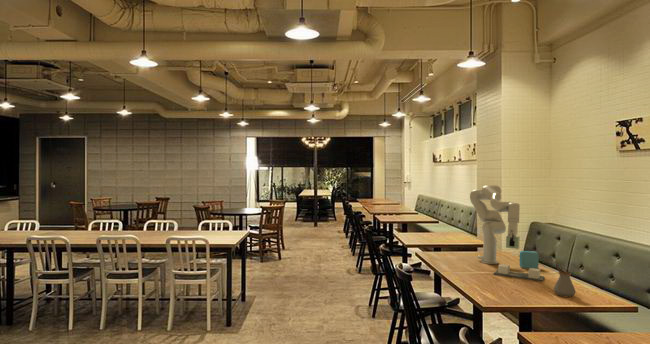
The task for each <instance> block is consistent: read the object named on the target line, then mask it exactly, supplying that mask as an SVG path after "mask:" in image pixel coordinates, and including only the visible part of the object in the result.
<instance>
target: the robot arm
mask: <svg viewBox="0 0 650 344" xmlns="http://www.w3.org/2000/svg"><path fill="white" fill-rule="evenodd" d="M501 194H502V188H501V187H500V186H499V185H497V184H496V185H494V184H492V185H491V184H490V185H487V184H486V185H484V186H482V188H481V189H479V188H478V189H473V190H472V191H470V193H469V199H470V203H471V205H472V206H473V208H474V209H475V211H476V213H477V215H478V218H479V219H480V221H481V222H482V223H483V224H482V227H481V228H482V233H483V242H482V244H483V247H482V249H483V250H482V255H477V259H479V260H480V262H481V263H483V264H488V265H497V264H498V263H499V261H498V260H497V245H498V244H497V238H496V236H495V235H502V234H504V233H505V232H506V230H507V236H510V244H509V246H513V247H514V243H515V241H514V237H515V236H516V237H517V236H518V224H519V223H520V209H521V208H520V207H521V206H520V204H519V203H517V202H513V201H501V199H502V195H501ZM483 201H490V206H491V208H492V209H488V206H487V205H486V204H485V203H484V202H483ZM500 213H507V223H508V227H507V226H506V223H505V222H504V220H503V218H502V216H501V214H500ZM506 227H507V228H506ZM498 265H499V264H498Z"/></svg>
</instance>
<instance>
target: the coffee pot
mask: <svg viewBox="0 0 650 344" xmlns="http://www.w3.org/2000/svg"><path fill="white" fill-rule="evenodd" d="M554 267H556V268H557V271H558V274H559V277H558V278H557V281H556V282H555V284H554V287H552V288H553V289H552V290H553V292H554V293H555V294H556V295H557V294H558V295H557V296H559V295H562V296H561V297H563V296H574V295H576V288H575V286H574V284H573V281H572V279H571V275H572V273H571V272H567V271H561V269H560V267H559V264H557V263H555V264H554Z"/></svg>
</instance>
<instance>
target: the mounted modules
mask: <svg viewBox="0 0 650 344" xmlns="http://www.w3.org/2000/svg"><path fill="white" fill-rule="evenodd" d="M510 268H511V265H510V264H506V263H505V264H504V263H500V264H498V267H497V269H498V273H502V274H508V273H509V272H510V271H511V269H510ZM527 274H528V277H529V278H536V279H539V277H540V276H541V268H540V269H539V268H537V269H535V268H528V273H527Z"/></svg>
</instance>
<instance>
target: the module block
mask: <svg viewBox="0 0 650 344" xmlns="http://www.w3.org/2000/svg"><path fill="white" fill-rule="evenodd" d="M505 241H506V242H505V247H506V249H507V248H508V249H514V250H518V249H520V241H521V240H520V236H517V235H516V236H515V237H514V241H515V243H514V247H513V246H509V244H510V236H508V235H507V236H506V237H505Z"/></svg>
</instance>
